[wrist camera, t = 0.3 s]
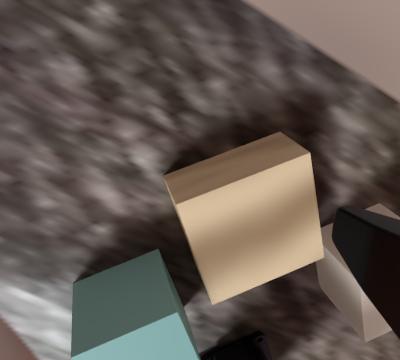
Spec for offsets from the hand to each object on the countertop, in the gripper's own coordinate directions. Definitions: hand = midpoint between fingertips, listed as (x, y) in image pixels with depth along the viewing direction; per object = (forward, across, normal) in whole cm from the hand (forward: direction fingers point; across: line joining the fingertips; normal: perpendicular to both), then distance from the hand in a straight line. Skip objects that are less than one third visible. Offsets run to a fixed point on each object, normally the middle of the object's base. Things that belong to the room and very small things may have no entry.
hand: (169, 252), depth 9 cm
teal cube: (+14, +1, +13) cm, 19 cm away
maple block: (+14, -7, +7) cm, 17 cm away
